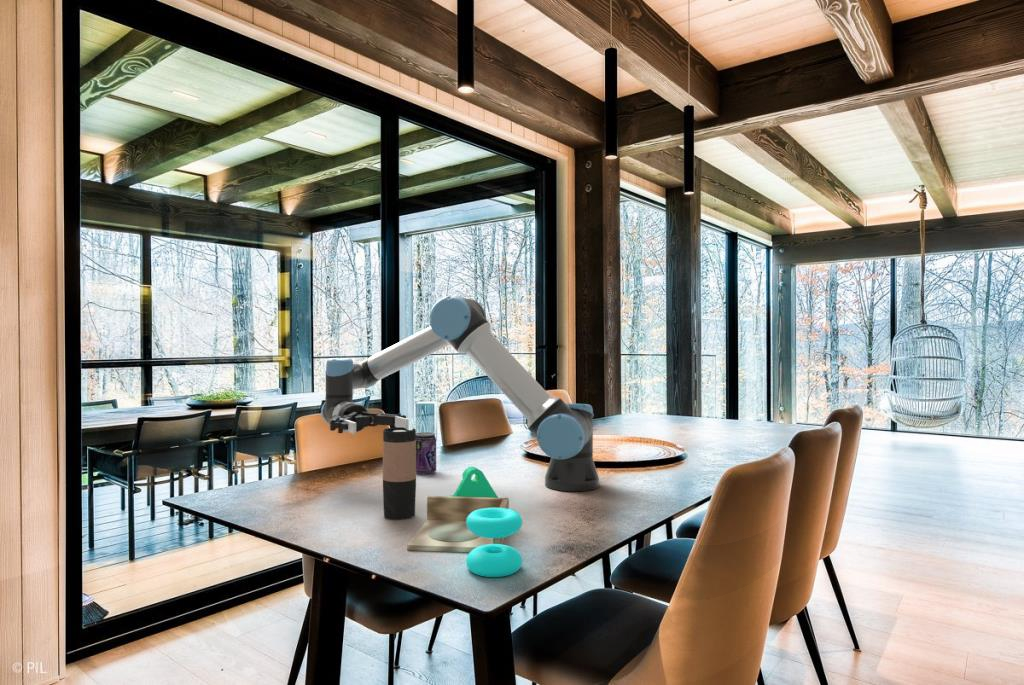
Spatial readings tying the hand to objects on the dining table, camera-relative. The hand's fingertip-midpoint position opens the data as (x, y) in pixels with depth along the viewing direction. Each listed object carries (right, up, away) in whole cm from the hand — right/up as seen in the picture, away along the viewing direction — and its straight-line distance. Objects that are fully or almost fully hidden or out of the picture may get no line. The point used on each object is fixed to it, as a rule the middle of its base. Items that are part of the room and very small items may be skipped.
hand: (381, 426), depth 152 cm
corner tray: (+21, -20, -24) cm, 37 cm away
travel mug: (+6, -20, -8) cm, 22 cm away
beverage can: (+5, -20, +38) cm, 43 cm away
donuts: (+29, -20, -41) cm, 54 cm away
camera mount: (+22, -20, -1) cm, 30 cm away
